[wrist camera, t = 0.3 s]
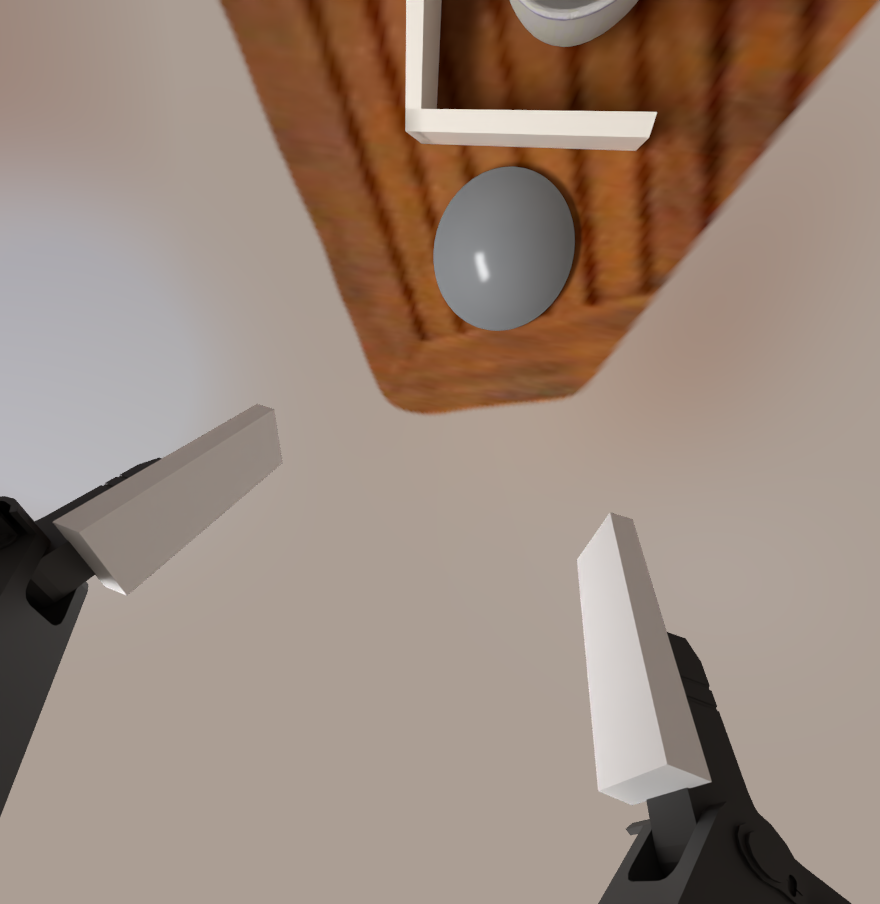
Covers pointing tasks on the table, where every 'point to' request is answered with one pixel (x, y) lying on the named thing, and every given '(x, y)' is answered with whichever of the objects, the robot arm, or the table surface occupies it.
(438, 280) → the grey flat disc
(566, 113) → the white u-shaped frame
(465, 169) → the table surface
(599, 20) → the teacup
